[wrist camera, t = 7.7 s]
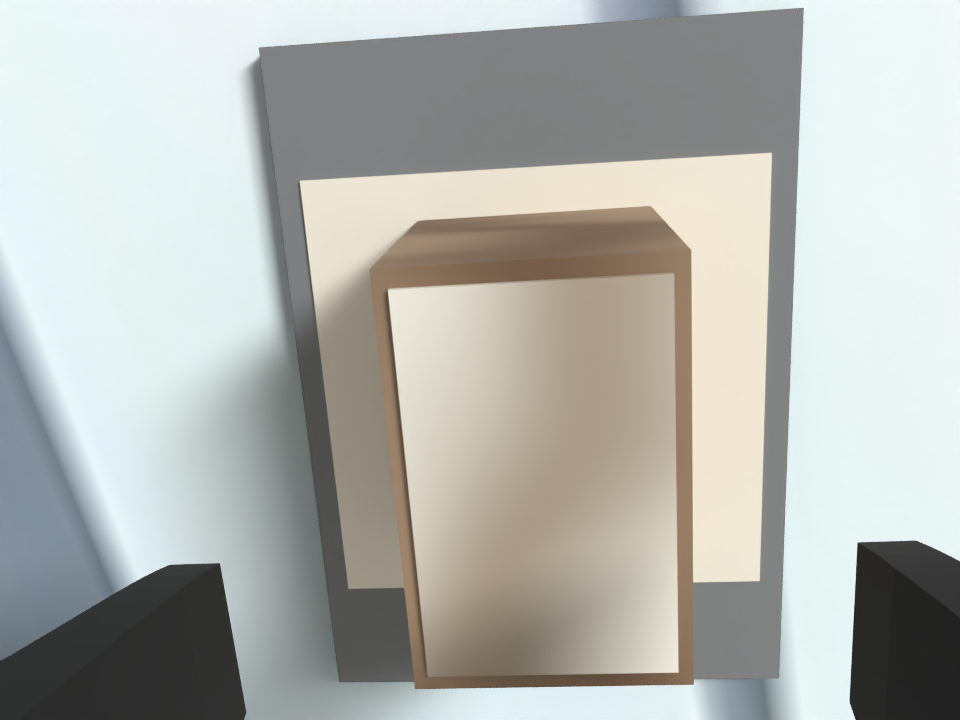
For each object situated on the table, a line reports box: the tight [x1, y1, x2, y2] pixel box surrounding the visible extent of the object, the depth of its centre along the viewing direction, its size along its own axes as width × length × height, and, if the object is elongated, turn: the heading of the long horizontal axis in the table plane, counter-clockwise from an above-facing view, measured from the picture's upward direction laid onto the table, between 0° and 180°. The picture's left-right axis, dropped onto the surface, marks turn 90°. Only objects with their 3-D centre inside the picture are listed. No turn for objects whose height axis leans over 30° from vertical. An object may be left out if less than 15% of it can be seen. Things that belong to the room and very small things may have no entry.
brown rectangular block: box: [370, 206, 694, 689], centre depth 16 cm, size 4×7×5 cm, turn 4°
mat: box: [259, 8, 804, 682], centre depth 19 cm, size 14×10×1 cm
